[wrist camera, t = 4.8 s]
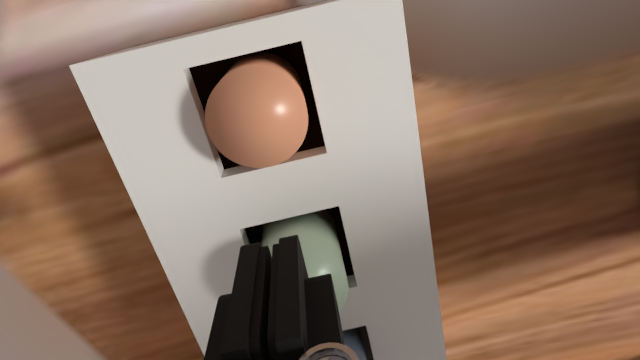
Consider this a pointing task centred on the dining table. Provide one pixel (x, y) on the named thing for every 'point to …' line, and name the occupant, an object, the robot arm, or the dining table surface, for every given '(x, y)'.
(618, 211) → the dining table surface
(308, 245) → the sage button
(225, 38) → the console
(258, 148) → the terracotta button
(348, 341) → the slate button
